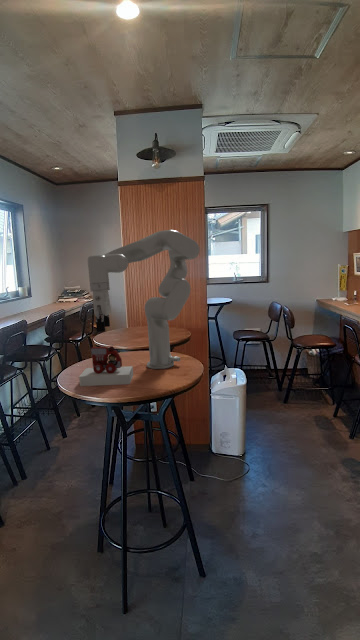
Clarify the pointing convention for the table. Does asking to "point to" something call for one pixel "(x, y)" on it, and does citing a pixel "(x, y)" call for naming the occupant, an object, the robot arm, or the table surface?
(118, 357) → the toy fire truck
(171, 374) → the table surface
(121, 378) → the block
